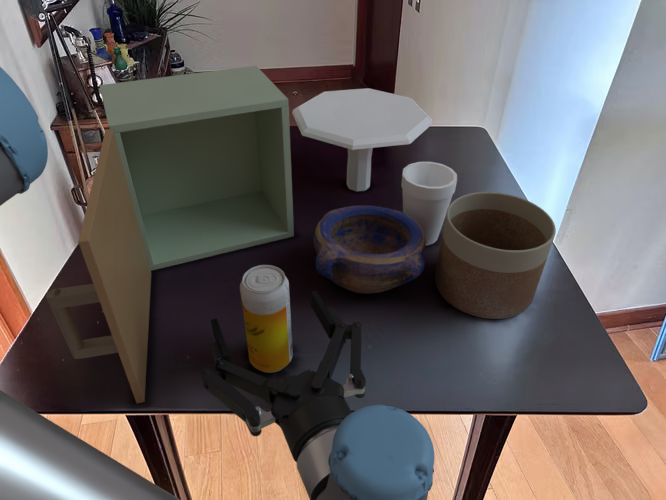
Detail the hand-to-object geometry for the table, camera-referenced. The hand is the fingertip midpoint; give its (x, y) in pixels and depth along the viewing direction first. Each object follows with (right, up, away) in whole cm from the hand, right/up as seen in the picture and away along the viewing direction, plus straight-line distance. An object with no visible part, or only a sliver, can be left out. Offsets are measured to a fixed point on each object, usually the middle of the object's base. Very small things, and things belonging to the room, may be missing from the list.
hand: (265, 311), depth 68 cm
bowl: (+15, +4, +19) cm, 25 cm away
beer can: (0, -7, +5) cm, 9 cm away
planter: (+34, +2, +17) cm, 38 cm away
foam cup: (+25, +11, +29) cm, 40 cm away
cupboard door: (-22, -4, +8) cm, 24 cm away
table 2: (+14, +22, +43) cm, 50 cm away
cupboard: (-14, +12, +30) cm, 35 cm away
